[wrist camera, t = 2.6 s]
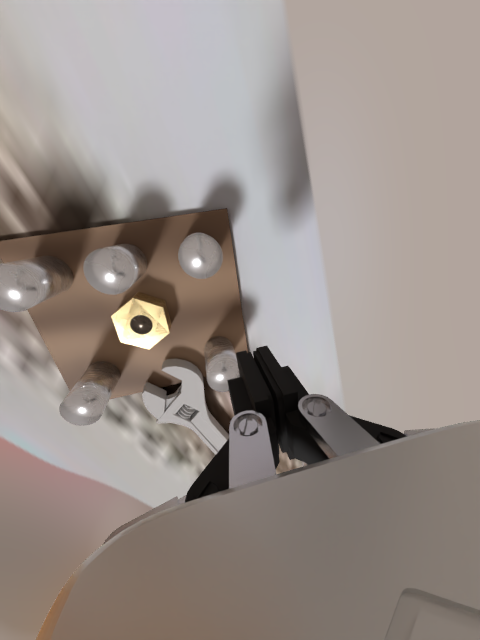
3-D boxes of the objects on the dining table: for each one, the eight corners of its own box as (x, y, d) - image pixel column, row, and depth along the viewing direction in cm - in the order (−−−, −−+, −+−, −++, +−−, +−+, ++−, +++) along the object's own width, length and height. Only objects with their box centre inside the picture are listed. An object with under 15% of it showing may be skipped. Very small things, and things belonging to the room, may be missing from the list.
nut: (108, 316, 21) (100, 325, 19) (148, 283, 21) (144, 288, 19) (143, 346, 23) (139, 357, 21) (181, 316, 22) (180, 324, 20)
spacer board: (-3, 241, 18) (-8, 242, 18) (226, 208, 20) (226, 208, 20) (80, 403, 24) (78, 406, 24) (249, 364, 26) (250, 366, 26)
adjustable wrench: (269, 480, 34) (273, 492, 33) (230, 499, 34) (232, 512, 33) (188, 350, 24) (187, 360, 22) (130, 378, 24) (126, 389, 22)
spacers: (23, 259, 18) (-33, 269, 14) (212, 229, 20) (218, 230, 16) (88, 391, 23) (62, 430, 19) (234, 358, 25) (244, 387, 21)
